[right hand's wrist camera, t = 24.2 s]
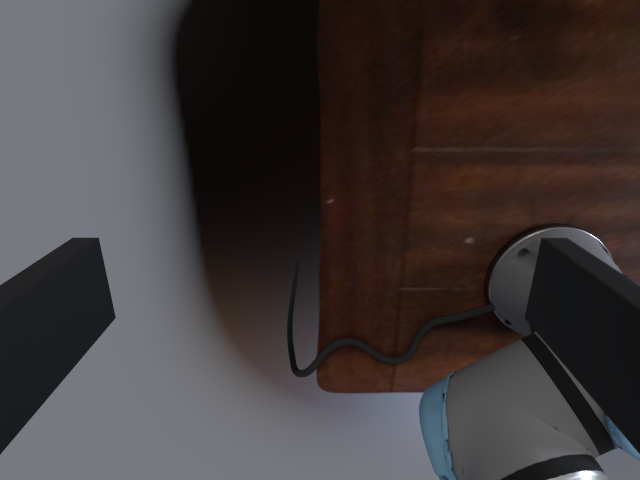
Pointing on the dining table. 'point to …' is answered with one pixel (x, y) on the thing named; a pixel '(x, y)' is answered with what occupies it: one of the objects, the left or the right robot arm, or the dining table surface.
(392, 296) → the dining table surface
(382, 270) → the dining table surface
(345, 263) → the dining table surface
